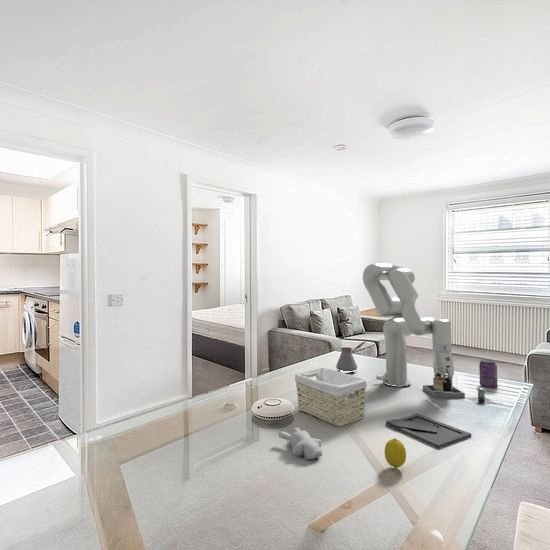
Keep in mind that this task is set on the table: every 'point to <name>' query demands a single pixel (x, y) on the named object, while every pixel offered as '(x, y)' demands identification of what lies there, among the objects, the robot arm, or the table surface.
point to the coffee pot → (347, 359)
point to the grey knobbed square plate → (481, 397)
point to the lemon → (395, 453)
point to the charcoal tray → (443, 393)
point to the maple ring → (439, 383)
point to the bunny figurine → (303, 443)
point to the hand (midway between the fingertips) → (442, 388)
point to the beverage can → (488, 373)
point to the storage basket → (331, 395)
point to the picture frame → (428, 430)
